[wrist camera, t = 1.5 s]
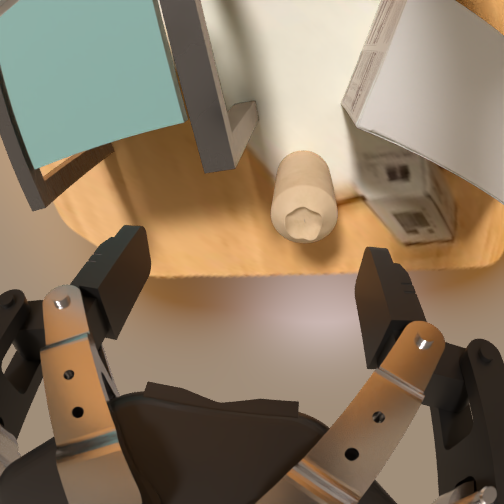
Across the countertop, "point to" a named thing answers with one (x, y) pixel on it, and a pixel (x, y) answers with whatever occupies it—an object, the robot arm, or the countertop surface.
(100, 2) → the trapdoor
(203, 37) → the frame
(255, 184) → the countertop surface
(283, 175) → the candle
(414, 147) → the supplement box
